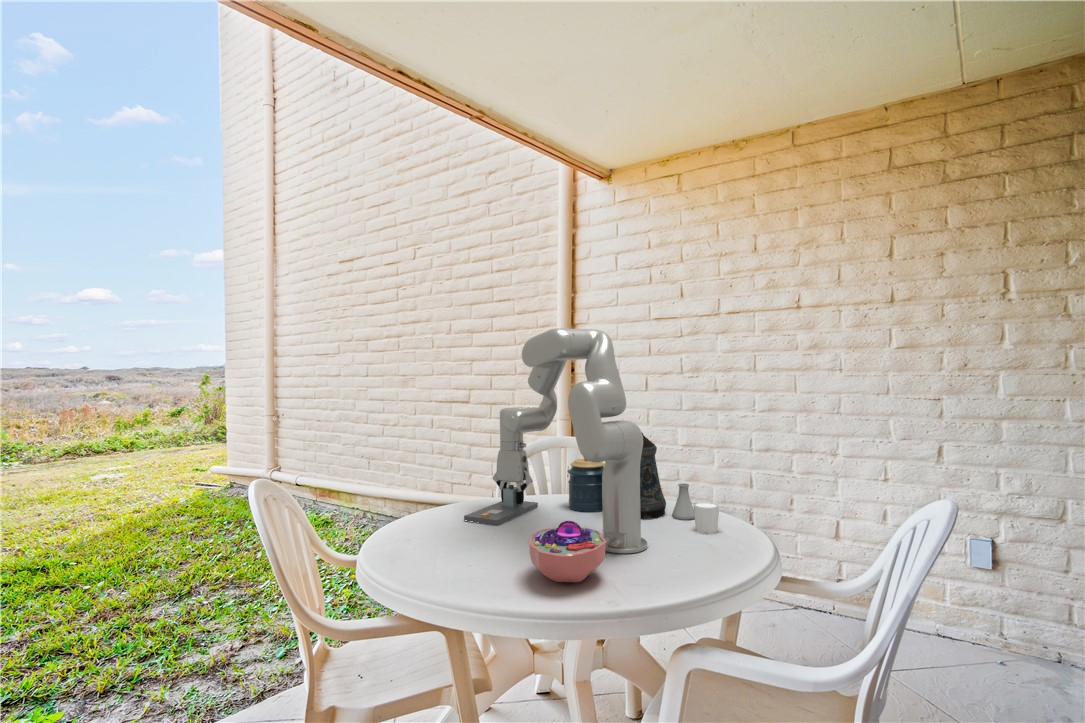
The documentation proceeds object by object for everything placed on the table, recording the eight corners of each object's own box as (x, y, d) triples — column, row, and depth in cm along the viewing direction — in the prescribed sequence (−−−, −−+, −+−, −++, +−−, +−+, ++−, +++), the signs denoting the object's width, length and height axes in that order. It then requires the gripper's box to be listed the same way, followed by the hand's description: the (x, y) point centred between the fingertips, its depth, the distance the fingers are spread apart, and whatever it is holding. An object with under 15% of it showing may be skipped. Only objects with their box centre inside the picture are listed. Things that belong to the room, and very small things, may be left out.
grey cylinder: (694, 533, 150) (693, 507, 150) (693, 526, 156) (692, 501, 156) (720, 534, 148) (720, 508, 148) (718, 527, 155) (718, 502, 155)
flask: (667, 515, 169) (667, 482, 169) (689, 513, 170) (688, 481, 171) (678, 521, 162) (677, 487, 162) (701, 519, 163) (700, 485, 164)
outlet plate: (497, 525, 160) (497, 518, 160) (464, 521, 166) (464, 513, 166) (537, 507, 181) (537, 500, 181) (507, 503, 187) (506, 497, 187)
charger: (512, 512, 176) (512, 487, 176) (503, 511, 178) (502, 486, 178) (520, 509, 180) (519, 484, 180) (510, 507, 181) (510, 483, 182)
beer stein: (673, 509, 175) (671, 431, 176) (652, 525, 159) (650, 437, 159) (624, 504, 184) (623, 429, 184) (599, 518, 167) (598, 435, 168)
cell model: (515, 591, 112) (514, 535, 112) (543, 559, 131) (542, 511, 131) (597, 599, 107) (596, 541, 107) (614, 565, 126) (613, 515, 127)
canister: (592, 514, 171) (591, 457, 171) (560, 508, 180) (559, 453, 180) (616, 506, 181) (615, 452, 181) (585, 501, 189) (584, 449, 190)
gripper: (540, 446, 179) (541, 502, 178) (496, 443, 187) (496, 497, 186) (528, 449, 172) (529, 507, 172) (483, 446, 180) (484, 502, 180)
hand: (512, 501), depth 179 cm, fingers open, 5 cm apart
